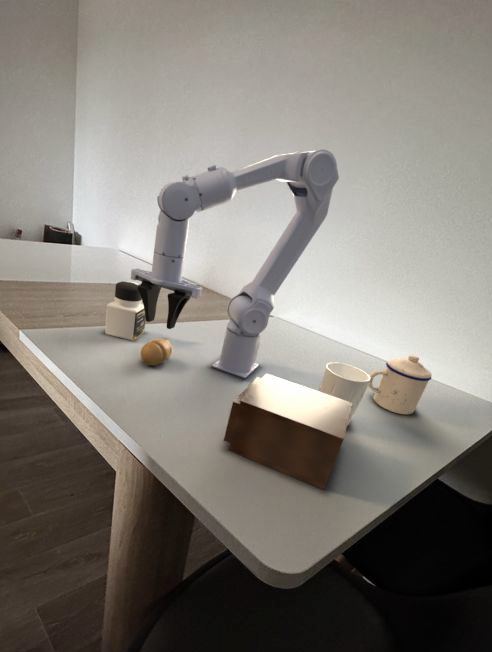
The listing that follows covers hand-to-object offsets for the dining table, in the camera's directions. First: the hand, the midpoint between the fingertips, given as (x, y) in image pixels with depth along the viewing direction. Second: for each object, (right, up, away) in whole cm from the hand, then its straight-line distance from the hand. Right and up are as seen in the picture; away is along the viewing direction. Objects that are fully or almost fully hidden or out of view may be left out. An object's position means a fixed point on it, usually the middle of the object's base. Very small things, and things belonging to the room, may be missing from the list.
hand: (160, 324), depth 78 cm
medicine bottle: (-11, 0, +15) cm, 19 cm away
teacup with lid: (+49, -16, +7) cm, 52 cm away
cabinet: (+22, -22, -17) cm, 36 cm away
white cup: (+33, -19, -4) cm, 38 cm away
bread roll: (-2, -7, +4) cm, 8 cm away
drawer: (+20, -21, -16) cm, 33 cm away
